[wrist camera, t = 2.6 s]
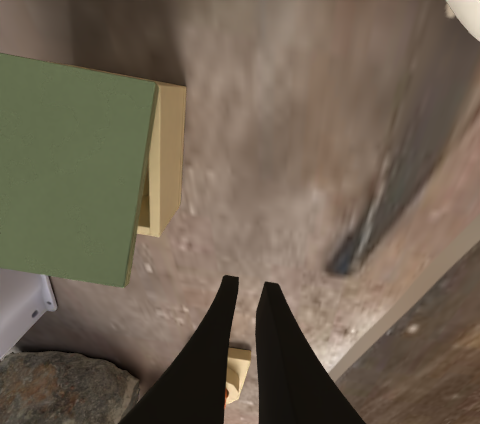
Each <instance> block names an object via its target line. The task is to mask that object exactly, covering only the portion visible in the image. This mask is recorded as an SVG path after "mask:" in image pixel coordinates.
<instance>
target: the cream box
mask: <svg viewBox="0 0 480 424" xmlns="http://www.w3.org/2000/svg"><path fill="white" fill-rule="evenodd" d="M46 62H47V61H46ZM51 63H54V62H51ZM57 64H60V63H57ZM62 65H67V64H62ZM67 66H73V67H78V68H83V69H89V70H94V71H99V72H105V73H110V74H115V75H121V76H126V77H131V78H136V79H142V80H147V81H152V82H156V84H157V85H158V87H159V92H158V99H157V105H156V112H155V118H154V125H153V131H152V138H151V144H150V151H149V157H148V164H147V170H146V177H145V183H144V190H143V196H142V203H141V209H140V216H139V222H138V229H137V233H138V234H144V235H151V236H156V237H160V235H161V234H162V232H163V231H164V229H165V228H166V226H167V225H168V223H169V222H170V220H171V218H172V217H173V215H174V214H175V212H176V211H177V209H178V208H179V206H180V203H181V184H182V164H183V145H184V125H185V106H186V87H185V86H181V85H175V84H170V83H165V82H159V81H154V80H149V79H143V78H138V77H133V76H127V75H122V74H117V73H111V72H106V71H101V70H95V69H90V68H85V67H80V66H74V65H67Z"/></svg>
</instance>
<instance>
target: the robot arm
mask: <svg viewBox="0 0 480 424" xmlns="http://www.w3.org/2000/svg"><path fill="white" fill-rule="evenodd" d="M238 285H239V277H234V276H228V275H225V276H223V279H222V282H221V285H220V288H219V290H218V292H217V295H216V297H215V299H214V301H213V303H212V304H211V306H210V308H209V310H208V312H207V314H206V315H205V317H204V318H203V320H202V322H201V323H200V325H199V326H198V328H197V330H196V331H195V333H194V334H193V336H192V337H191V338H190V340H189V341H188V343H187V344H186V345H185V347H184V348H183V350H182V351H181V352H180V353H179V355H178V356H177V357H176V359H175V360H174V361H173V362H172V364H171V365H170V366H169V367H168V369H167V370H166V371H165V372H164V374H163V375H162V376H161V377H160V378H159V379H158V381H157V382H156V383H155V384H154V385H153V386H152V387H151V388H150V390H149V391H148V392H147V393H146V394H145V395H144V396H143V397H142V399H141V400H140V401H139V402H138V403H137V404H136V405H135V406H134V407H133V408H132V409H131V410H130V411H129V412H128V413H127V414H126V415H125V416H124V417H123V418H122V420H121V421H120V422H119V423H118V424H224V408H225V391H226V377H227V362H228V349H229V338H230V331H231V326H232V320H233V315H234V310H235V305H236V300H237V294H238ZM56 309H57V304H56V301H55V297H54V294H53V290H52V287H51V284H50V280H49V277H48V276H47V275H41V274H34V273H28V272H22V271H16V270H9V269H3V268H0V359H1V358H2V357H3V356H4V355H5V354H6V353H7V352H8V351H9V350H10V349H11V348H12V347H13V346H14V345H15V344H16V343H17V342H18V341H19V340H20V338H21V337H22V336H23V335H24V334H25V333H26V332H27V331H28V330H29V329H30V328H31V327H32V326H33V325H34V324H35V323H36V322H37V320H38V319H39V318H40V317H41V316H42V315H43V314H44V313H45V312H46V311H55V310H56ZM255 336H256V353H257V369H258V384H259V424H366V423H365V422H364V421H363V420H362V418H361V417H360V416H359V414H358V413H357V412H356V411H355V409H354V408H353V407H352V406H351V404H350V403H349V402H348V400H347V399H346V398H345V397H344V395H343V394H342V393H341V391H340V390H339V389H338V387H337V386H336V385H335V383H334V382H333V380H332V379H331V378H330V376H329V375H328V373H327V372H326V370H325V369H324V367H323V366H322V364H321V363H320V361H319V360H318V358H317V357H316V355H315V353H314V352H313V350H312V349H311V347H310V345H309V343H308V342H307V340H306V338H305V337H304V335H303V333H302V331H301V329H300V328H299V326H298V324H297V322H296V320H295V318H294V316H293V314H292V312H291V310H290V308H289V306H288V304H287V302H286V299H285V297H284V295H283V293H282V290H281V288H280V286H279V284H277V283H271V282H265V284H264V287H263V290H262V294H261V297H260V301H259V304H258V307H257V311H256V331H255Z"/></svg>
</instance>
